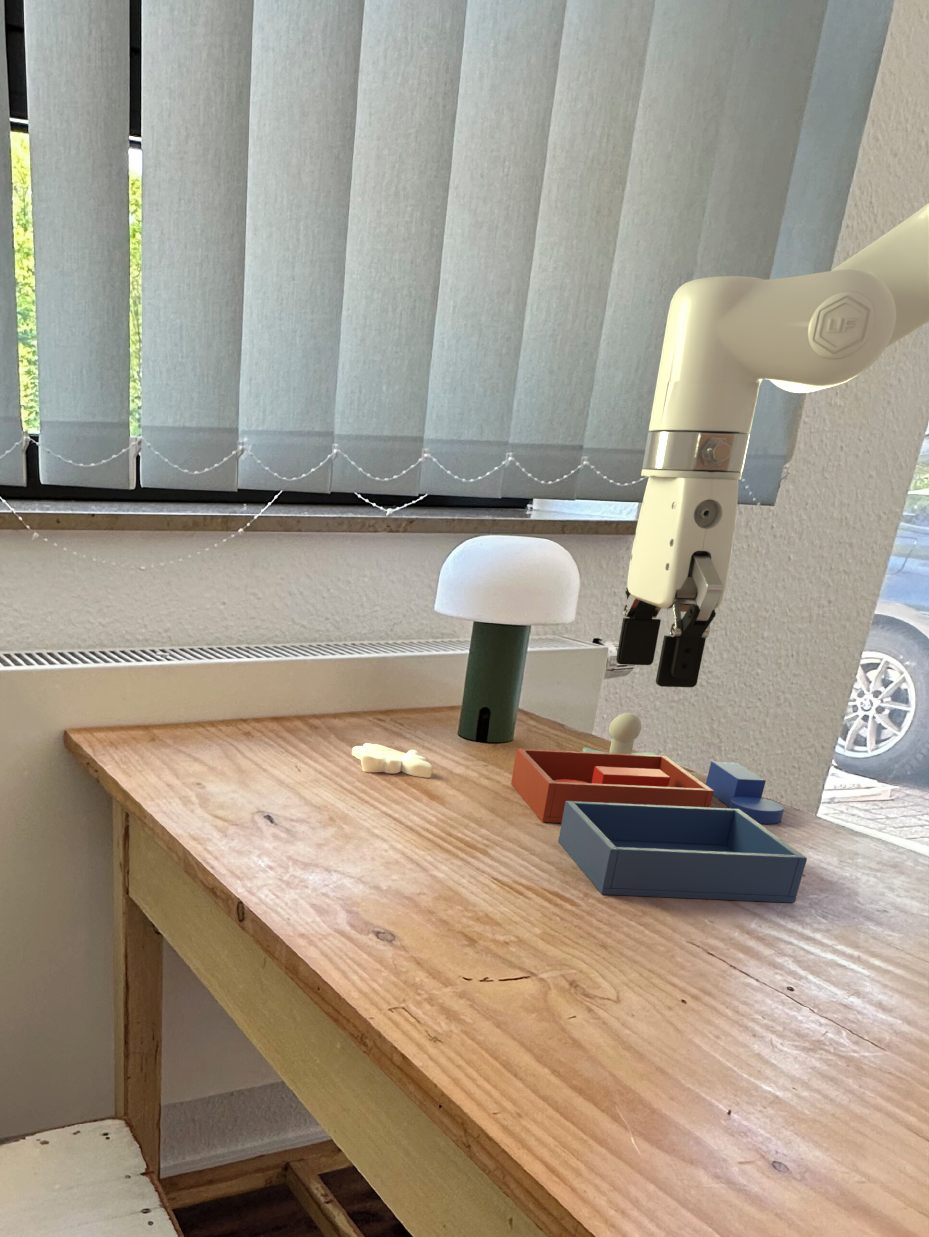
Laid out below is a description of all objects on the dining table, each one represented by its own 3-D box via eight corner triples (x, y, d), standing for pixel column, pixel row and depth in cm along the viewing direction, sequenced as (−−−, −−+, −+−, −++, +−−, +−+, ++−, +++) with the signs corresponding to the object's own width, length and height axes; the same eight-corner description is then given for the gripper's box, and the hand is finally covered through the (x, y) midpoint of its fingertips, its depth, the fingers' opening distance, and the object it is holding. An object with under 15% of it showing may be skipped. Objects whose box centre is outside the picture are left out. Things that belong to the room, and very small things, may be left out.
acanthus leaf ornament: (431, 779, 102) (434, 760, 102) (360, 776, 102) (362, 757, 101) (418, 757, 109) (420, 739, 108) (351, 754, 109) (352, 736, 108)
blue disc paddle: (695, 788, 104) (701, 760, 103) (739, 790, 104) (746, 762, 103) (741, 822, 94) (748, 792, 93) (790, 825, 95) (798, 794, 93)
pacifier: (571, 761, 111) (583, 776, 106) (582, 701, 109) (595, 713, 103) (643, 767, 111) (659, 781, 105) (655, 706, 108) (672, 718, 103)
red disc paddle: (649, 795, 99) (656, 766, 98) (667, 810, 95) (674, 780, 94) (540, 790, 99) (545, 761, 98) (554, 805, 95) (559, 774, 94)
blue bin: (728, 849, 88) (739, 808, 86) (794, 903, 78) (807, 858, 76) (557, 841, 87) (565, 800, 86) (601, 894, 77) (610, 849, 76)
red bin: (657, 790, 102) (665, 755, 101) (705, 829, 92) (714, 790, 91) (510, 784, 102) (516, 748, 100) (542, 822, 92) (549, 783, 90)
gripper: (792, 461, 77) (740, 697, 84) (696, 458, 93) (659, 658, 100) (689, 457, 77) (646, 694, 84) (611, 456, 93) (580, 655, 100)
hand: (653, 674), depth 92 cm, fingers open, 9 cm apart
